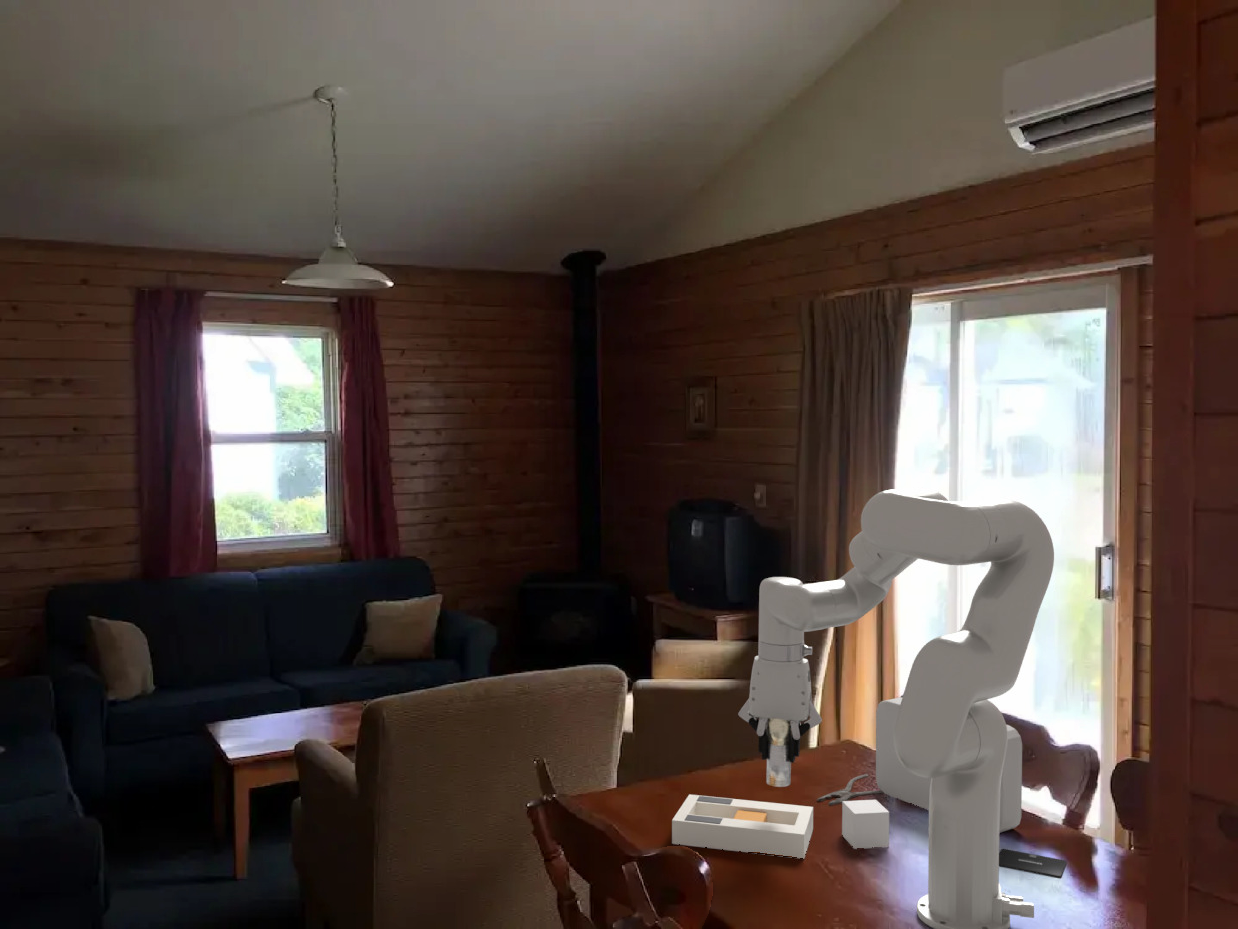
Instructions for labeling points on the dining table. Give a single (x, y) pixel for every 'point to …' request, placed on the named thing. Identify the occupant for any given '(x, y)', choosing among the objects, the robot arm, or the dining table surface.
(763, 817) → the switch tab
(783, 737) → the silver metal cylinder
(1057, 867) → the solid state drive
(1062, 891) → the dining table surface
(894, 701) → the rounded white slab
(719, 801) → the switch box
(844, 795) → the pliers
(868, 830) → the white cube
